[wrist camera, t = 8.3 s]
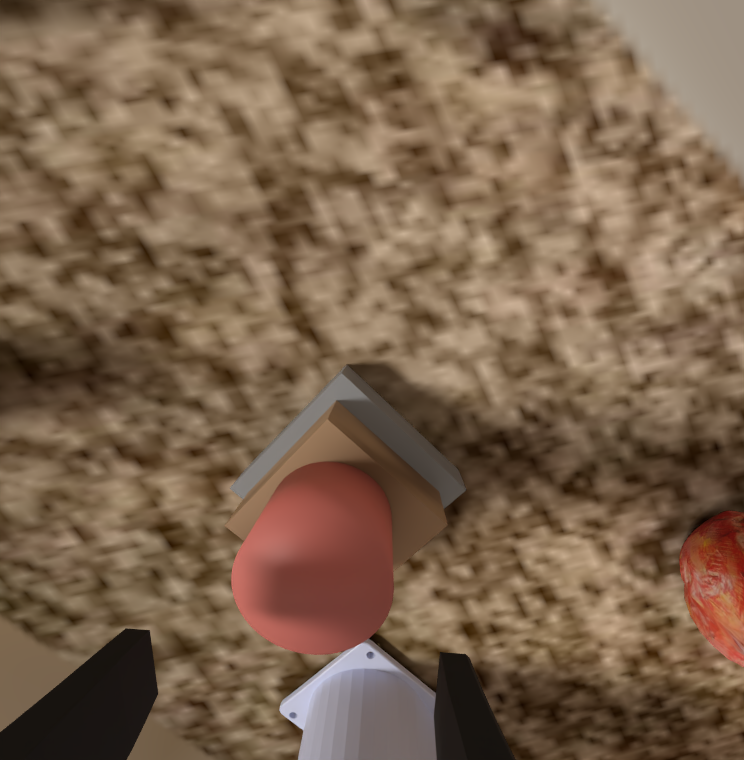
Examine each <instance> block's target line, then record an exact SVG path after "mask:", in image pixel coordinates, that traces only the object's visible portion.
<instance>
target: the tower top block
mask: <svg viewBox="0 0 744 760" xmlns="http://www.w3.org/2000/svg"><path fill="white" fill-rule="evenodd" d="M327 461H328V462H339V463H344V464H347V465H350V466H353V467H355V468H358V469H360V470H361V471H363V472H365V473H366V474H368V475H369V476H370V477H371V478H373V479H374V480H375V481H376V482H377V483H378V484H379V486H380V487H381V488H382V490H383V491H384V493H385V495H386V497H387V499H388V501H389V504H390V508H391V513H392V541H393V572H394V571H395V570H396V569H397V568H399V567H400V566H401V565H402V564H403V563H404V562H406V561H407V560H408V559H409V558H410V557H411V556H413V555H414V554H415V553H416V552H417V551H418V550H420V549H421V548H422V547H423V546H424V545H425V544H427V543H428V542H429V541H430V540H431V539H432V538H434V537H435V536H436V535H437V534H438V533H439V532H441V531H442V530H443V529H444V528H445V527H446V526H448V524H447V520H446V516H445V512H444V508H443V504H442V501H441V497H440V493H439V491H438V490H437V489H436V488H434V487H433V486H432V485H431V484H430V483H429V482H428V481H427V480H426V479H424V478H423V477H422V476H421V475H420V474H419V473H418V472H417V471H415V470H414V469H413V468H412V467H411V466H410V465H409V464H408V463H407V462H405V461H404V460H403V459H402V458H401V457H400V456H399V455H398V454H396V453H395V452H394V451H393V450H392V449H391V448H390V447H389V446H387V445H386V444H385V443H384V442H383V441H382V440H381V439H380V438H379V437H377V436H376V435H375V434H374V433H373V432H372V431H371V430H370V429H368V428H367V427H366V426H365V425H364V424H363V423H362V422H361V421H360V420H358V419H357V418H356V417H355V416H354V415H353V414H352V413H351V412H349V411H348V410H347V409H346V408H345V407H344V406H343V405H342V404H340V403H339V402H338V401H337V400H336V401H335V402H334V403H333V404H332V405H331V406H330V407H329V409H328V410H327V411H326V412H325V413H324V414H323V415H322V416H321V417H320V418H319V419H318V420H317V421H316V422H315V423H314V424H313V425H312V426H311V427H310V428H309V429H308V430H307V432H306V433H305V434H304V435H303V436H302V437H301V438H300V439H299V440H298V441H297V442H296V443H295V444H294V445H293V446H292V447H291V448H290V449H289V450H288V451H287V452H286V453H285V454H284V456H283V457H282V458H281V459H280V460H279V461H278V462H277V463H276V464H275V465H274V466H273V467H272V468H271V469H270V470H269V471H268V472H267V473H266V474H265V475H264V476H263V477H262V479H261V480H260V481H259V482H258V483H257V484H256V485H255V486H254V487H253V488H252V489H251V490H250V491H249V492H248V493H247V495H246V496H245V497H244V499H243V500H242V502H241V503H240V505H239V506H238V507H237V509H236V510H235V512H234V513H233V514H232V516H231V517H230V519H229V520H228V522H227V523H226V524H225V526H226V527H227V528H228V529H229V530H231V531H232V532H233V533H235V534H236V535H237V536H238V537H240V538H241V539H242V540H243V541H245V540H246V538H247V536H248V535H249V533H250V531H251V530H252V528H253V526H254V525H255V523H256V521H257V520H258V518H259V516H260V515H261V513H262V511H263V510H264V508H265V506H266V505H267V503H268V501H269V500H270V498H271V496H272V495H273V493H274V491H275V490H276V488H277V487H278V485H279V484H280V483H281V481H282V480H283V479H284V478H285V477H286V476H287V475H289V474H290V473H291V472H293V471H294V470H296V469H298V468H300V467H302V466H305V465H308V464H311V463H316V462H327Z"/></svg>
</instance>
